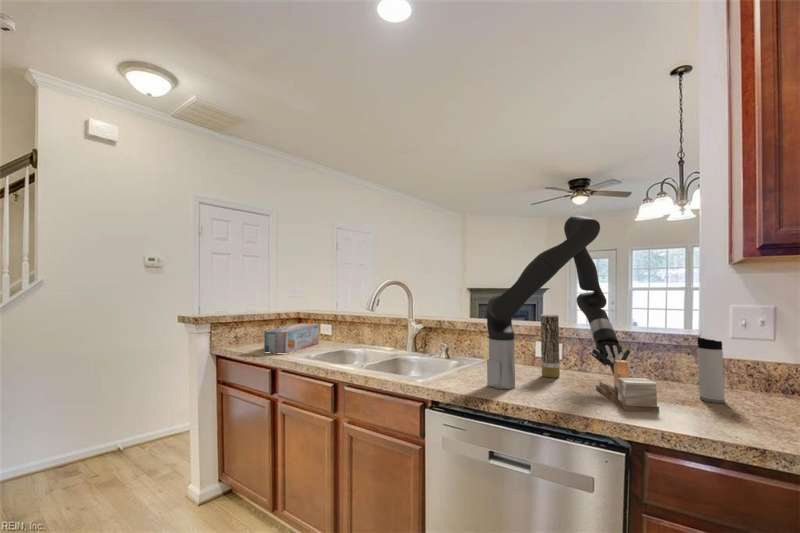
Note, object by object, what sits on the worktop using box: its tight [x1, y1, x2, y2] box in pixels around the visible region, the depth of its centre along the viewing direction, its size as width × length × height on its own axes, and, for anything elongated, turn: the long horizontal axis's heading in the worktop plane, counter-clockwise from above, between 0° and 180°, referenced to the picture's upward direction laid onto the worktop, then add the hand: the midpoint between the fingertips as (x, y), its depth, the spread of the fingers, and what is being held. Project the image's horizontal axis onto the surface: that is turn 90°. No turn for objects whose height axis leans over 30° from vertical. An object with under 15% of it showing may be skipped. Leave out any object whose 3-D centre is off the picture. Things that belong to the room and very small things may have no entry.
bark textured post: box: [540, 313, 561, 379], centre depth 154 cm, size 7×7×25 cm
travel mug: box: [697, 337, 726, 404], centre depth 122 cm, size 6×7×20 cm
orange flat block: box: [613, 359, 629, 390], centre depth 120 cm, size 13×3×10 cm, turn 172°
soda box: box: [263, 323, 320, 354], centre depth 224 cm, size 41×14×13 cm, turn 167°
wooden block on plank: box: [595, 377, 660, 413], centre depth 123 cm, size 24×9×8 cm, turn 172°
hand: (618, 374), depth 127 cm, fingers closed
